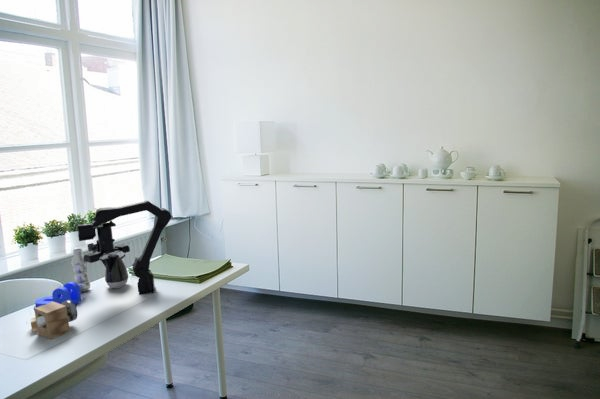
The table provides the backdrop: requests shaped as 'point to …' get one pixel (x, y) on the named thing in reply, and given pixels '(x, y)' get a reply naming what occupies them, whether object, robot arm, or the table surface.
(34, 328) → the spacer block
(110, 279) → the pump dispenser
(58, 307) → the bearing block
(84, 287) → the plastic bottle
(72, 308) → the shaft
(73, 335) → the table surface
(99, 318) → the table surface
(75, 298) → the bracket
